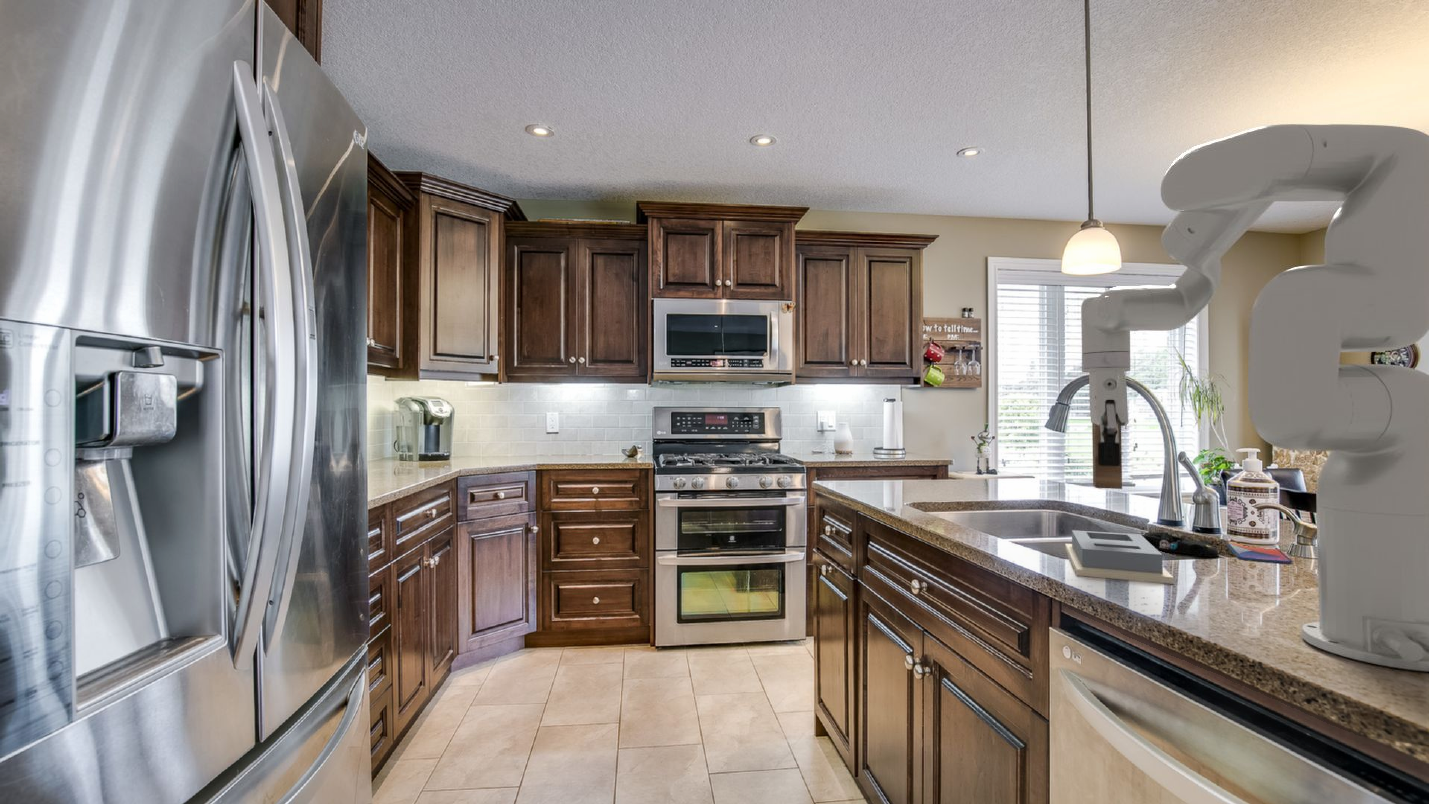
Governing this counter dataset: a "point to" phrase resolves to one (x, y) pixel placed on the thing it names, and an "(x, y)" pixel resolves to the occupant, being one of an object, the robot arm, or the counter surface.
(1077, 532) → the bore block
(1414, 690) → the counter surface
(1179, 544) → the toy car
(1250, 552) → the smartphone
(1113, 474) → the block
